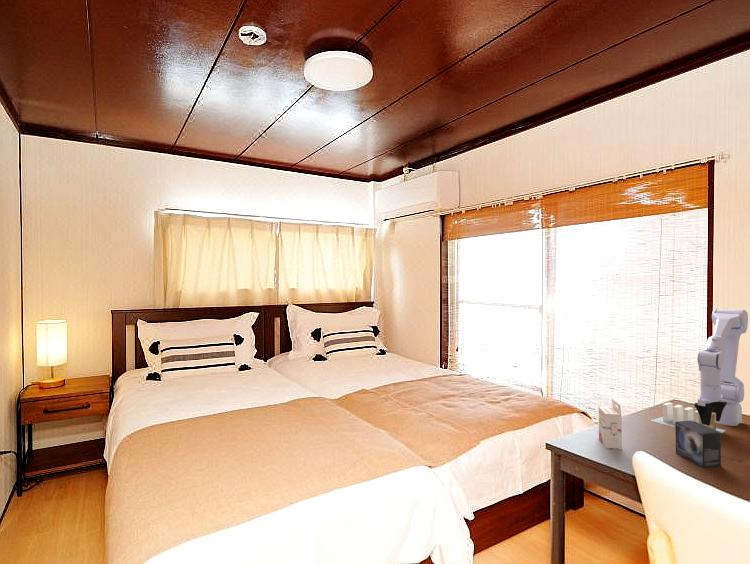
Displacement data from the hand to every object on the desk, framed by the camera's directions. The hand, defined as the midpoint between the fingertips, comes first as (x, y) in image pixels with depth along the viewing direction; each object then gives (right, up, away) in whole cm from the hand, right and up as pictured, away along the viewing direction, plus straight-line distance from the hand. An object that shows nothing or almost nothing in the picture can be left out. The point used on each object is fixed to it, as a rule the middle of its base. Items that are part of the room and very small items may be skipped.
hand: (710, 422), depth 150 cm
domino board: (-4, -4, +7) cm, 9 cm away
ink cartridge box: (-41, -5, -8) cm, 41 cm away
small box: (-21, -5, -20) cm, 29 cm away
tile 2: (-2, -3, +3) cm, 5 cm away
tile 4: (-5, -3, +9) cm, 11 cm away
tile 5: (-7, -3, +12) cm, 14 cm away
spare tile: (0, -3, 0) cm, 3 cm away
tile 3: (-3, -3, +6) cm, 8 cm away
